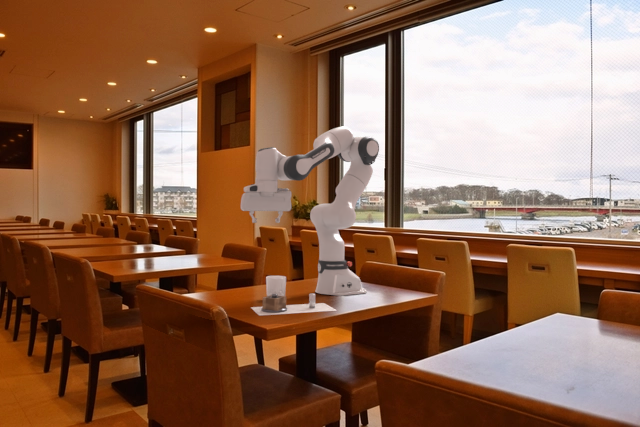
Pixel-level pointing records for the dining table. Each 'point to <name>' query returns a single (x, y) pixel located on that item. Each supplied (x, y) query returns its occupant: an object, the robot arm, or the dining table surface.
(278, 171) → the robot arm
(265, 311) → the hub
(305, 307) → the board
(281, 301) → the collar
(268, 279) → the white cup
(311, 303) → the stand rod
